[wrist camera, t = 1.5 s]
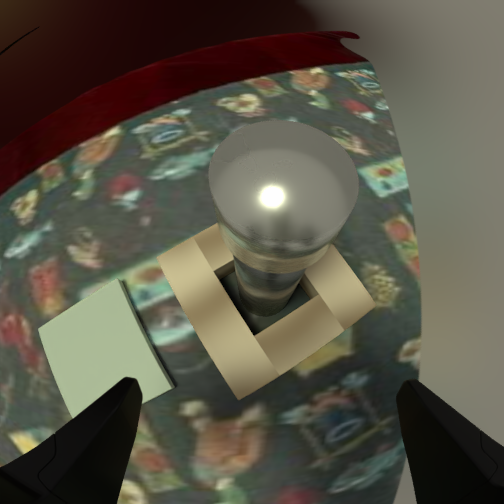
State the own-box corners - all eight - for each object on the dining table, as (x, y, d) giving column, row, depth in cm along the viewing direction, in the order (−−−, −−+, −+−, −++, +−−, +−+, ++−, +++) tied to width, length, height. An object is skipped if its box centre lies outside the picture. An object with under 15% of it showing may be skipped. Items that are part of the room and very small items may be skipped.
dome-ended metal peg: (306, 300, 22) (386, 194, 8) (255, 333, 21) (263, 271, 7) (272, 253, 24) (298, 106, 10) (223, 282, 23) (183, 153, 9)
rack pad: (175, 387, 19) (171, 388, 19) (85, 429, 17) (79, 431, 16) (121, 281, 23) (117, 278, 22) (44, 330, 21) (38, 328, 20)
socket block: (364, 311, 22) (376, 305, 19) (239, 396, 19) (238, 400, 17) (283, 202, 26) (286, 186, 23) (165, 268, 23) (156, 257, 21)
